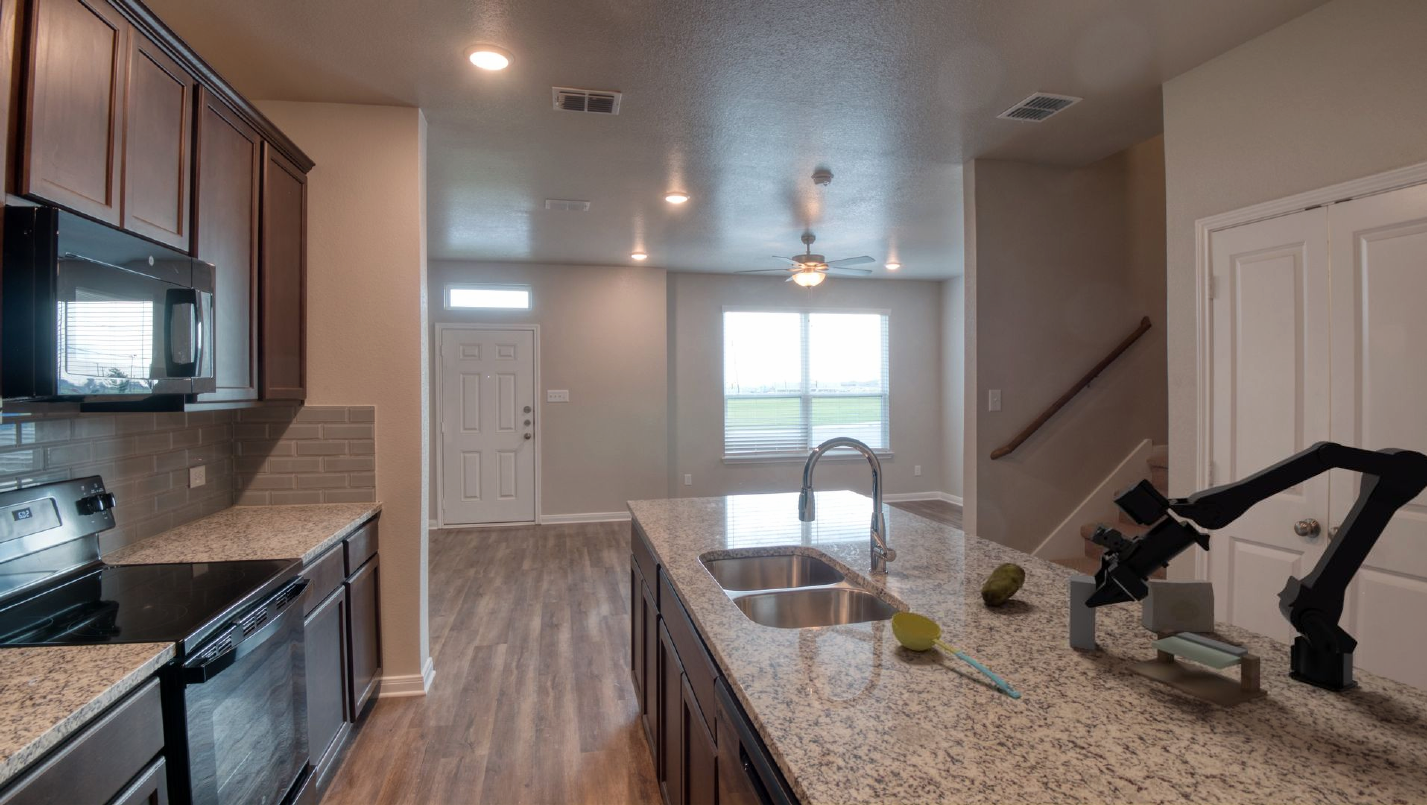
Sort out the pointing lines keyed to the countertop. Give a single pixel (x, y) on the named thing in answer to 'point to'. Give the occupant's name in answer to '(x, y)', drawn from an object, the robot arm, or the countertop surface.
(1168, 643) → the trapdoor
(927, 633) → the ladle
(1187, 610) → the grey plaster block
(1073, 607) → the grey rectangular block
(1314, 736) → the countertop surface
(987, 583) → the potato
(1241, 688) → the trapdoor frame
